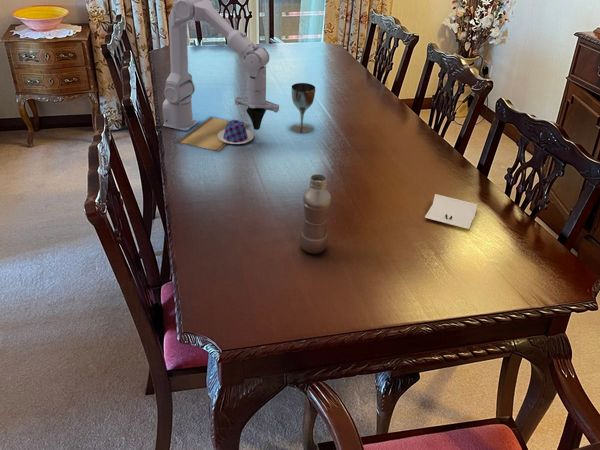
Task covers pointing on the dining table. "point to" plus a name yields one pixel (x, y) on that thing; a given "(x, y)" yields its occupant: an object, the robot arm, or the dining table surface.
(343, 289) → the dining table surface
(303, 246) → the plastic bottle
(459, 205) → the folded paper
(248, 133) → the pudding
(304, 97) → the wine glass
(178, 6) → the robot arm
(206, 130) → the placemat
